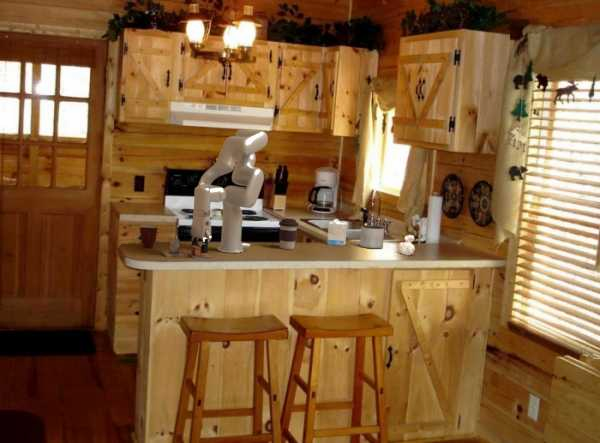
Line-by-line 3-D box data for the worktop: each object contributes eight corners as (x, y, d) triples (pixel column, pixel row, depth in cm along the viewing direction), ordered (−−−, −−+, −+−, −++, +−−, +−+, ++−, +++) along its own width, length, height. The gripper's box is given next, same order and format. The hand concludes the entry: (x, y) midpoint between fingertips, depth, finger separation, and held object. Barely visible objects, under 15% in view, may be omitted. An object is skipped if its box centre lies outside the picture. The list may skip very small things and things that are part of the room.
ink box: (342, 246, 438) (344, 221, 436) (326, 244, 440) (328, 219, 438) (345, 244, 446) (347, 219, 444) (330, 242, 448) (332, 218, 447)
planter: (376, 250, 433) (378, 229, 431) (355, 246, 439) (357, 226, 437) (386, 247, 444) (388, 227, 442) (365, 244, 450) (367, 224, 448)
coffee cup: (274, 248, 414) (276, 219, 412) (281, 245, 424) (283, 217, 422) (292, 250, 411) (294, 221, 409) (299, 248, 420) (301, 219, 418)
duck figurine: (413, 260, 422) (425, 243, 424) (405, 252, 418) (417, 234, 421) (399, 256, 432) (410, 239, 434) (390, 248, 428) (402, 231, 431)
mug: (158, 249, 386) (159, 228, 385) (141, 249, 384) (142, 228, 382) (155, 245, 396) (156, 225, 395) (138, 245, 393) (139, 225, 392)
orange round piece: (209, 255, 378) (210, 245, 377) (197, 256, 373) (197, 246, 373) (201, 252, 383) (201, 242, 382) (188, 253, 378) (189, 243, 378)
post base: (181, 252, 383) (182, 238, 382) (188, 256, 374) (188, 241, 373) (160, 253, 378) (161, 238, 377) (166, 257, 369) (167, 241, 368)
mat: (204, 254, 383) (204, 253, 383) (210, 257, 376) (210, 256, 376) (188, 254, 380) (188, 253, 380) (193, 257, 373) (193, 256, 373)
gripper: (219, 216, 371) (216, 254, 374) (197, 210, 384) (195, 247, 387) (205, 216, 367) (203, 255, 369) (184, 211, 380) (182, 248, 382)
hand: (199, 251), depth 378 cm, fingers open, 7 cm apart
